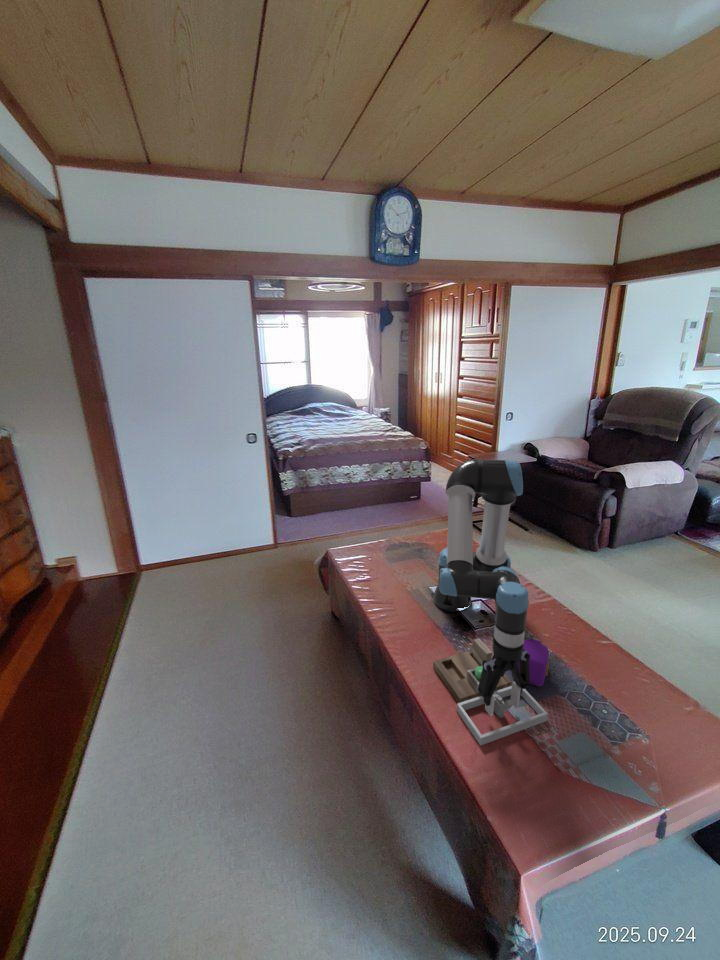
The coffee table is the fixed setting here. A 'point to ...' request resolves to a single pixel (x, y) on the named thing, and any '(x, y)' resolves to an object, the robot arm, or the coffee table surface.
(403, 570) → the coffee table surface
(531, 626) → the coffee table surface
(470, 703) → the rectangular frame
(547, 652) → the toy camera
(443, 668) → the station
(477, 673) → the button
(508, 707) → the lighter
